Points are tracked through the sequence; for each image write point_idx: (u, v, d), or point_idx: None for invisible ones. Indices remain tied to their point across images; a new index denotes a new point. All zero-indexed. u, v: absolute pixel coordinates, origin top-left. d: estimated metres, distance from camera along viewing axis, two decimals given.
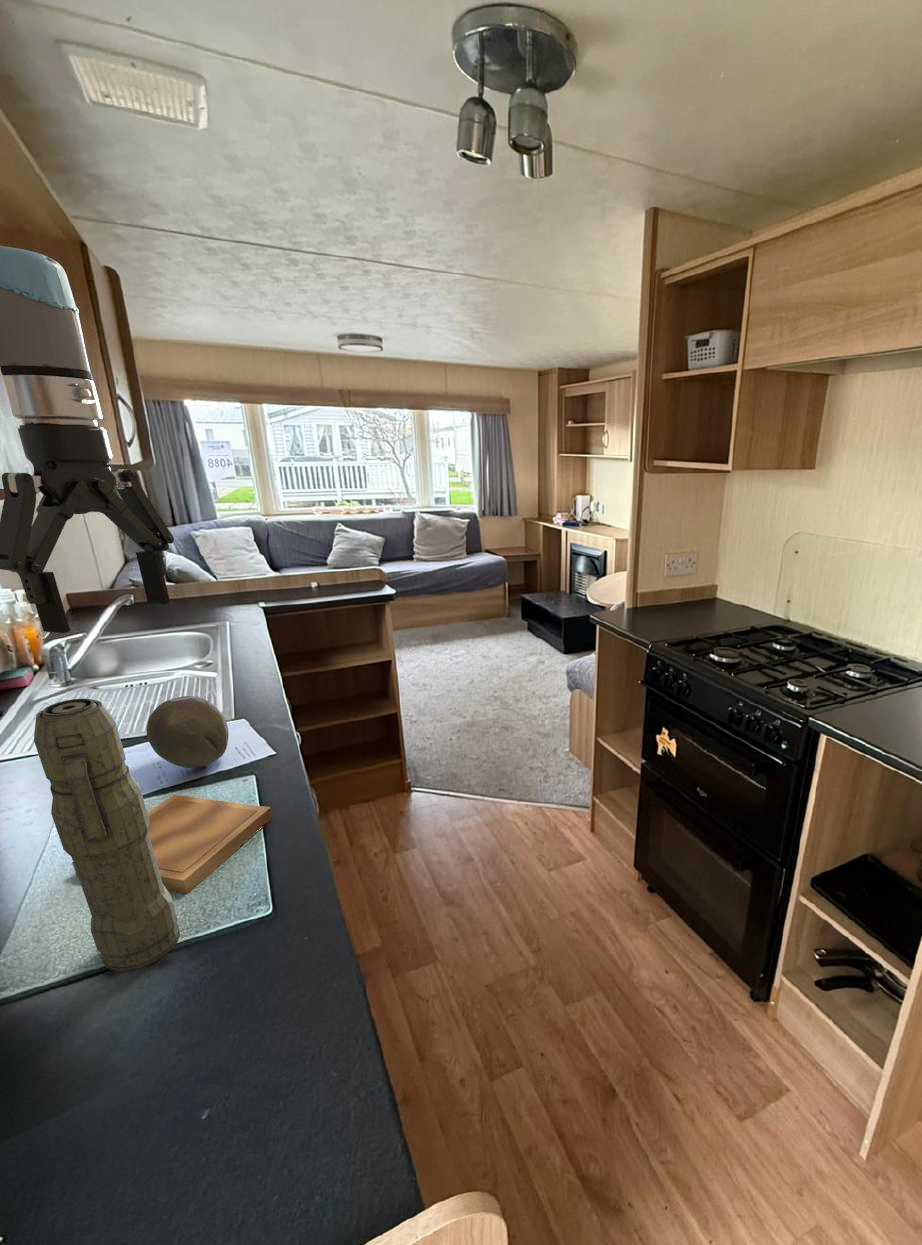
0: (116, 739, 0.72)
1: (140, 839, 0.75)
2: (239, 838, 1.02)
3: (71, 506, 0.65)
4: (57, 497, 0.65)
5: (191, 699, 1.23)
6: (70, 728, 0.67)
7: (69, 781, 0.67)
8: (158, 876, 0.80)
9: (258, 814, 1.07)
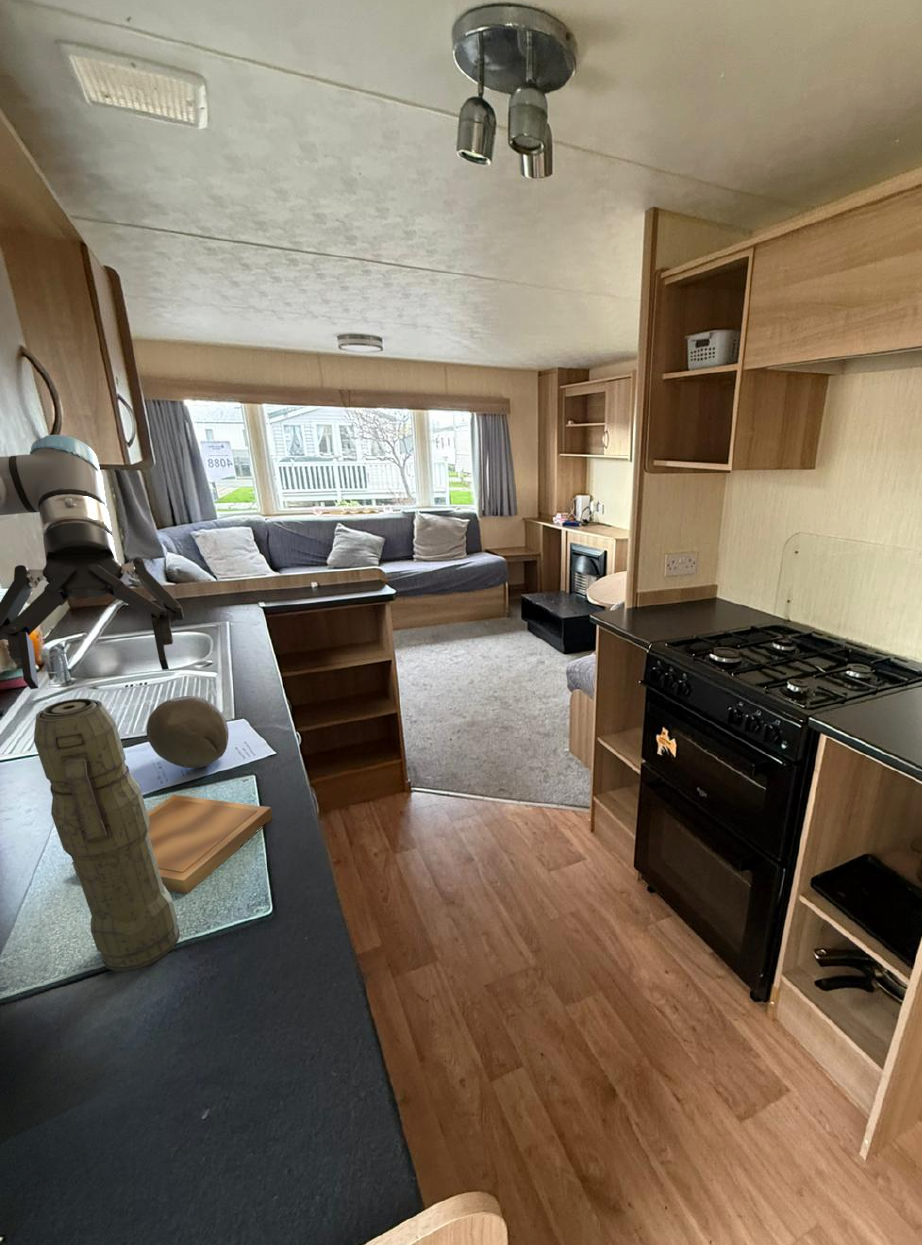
0: (116, 739, 0.72)
1: (140, 839, 0.75)
2: (239, 838, 1.02)
3: (56, 583, 0.78)
4: None
5: (191, 699, 1.23)
6: (70, 728, 0.67)
7: (69, 781, 0.67)
8: (158, 876, 0.80)
9: (258, 814, 1.07)
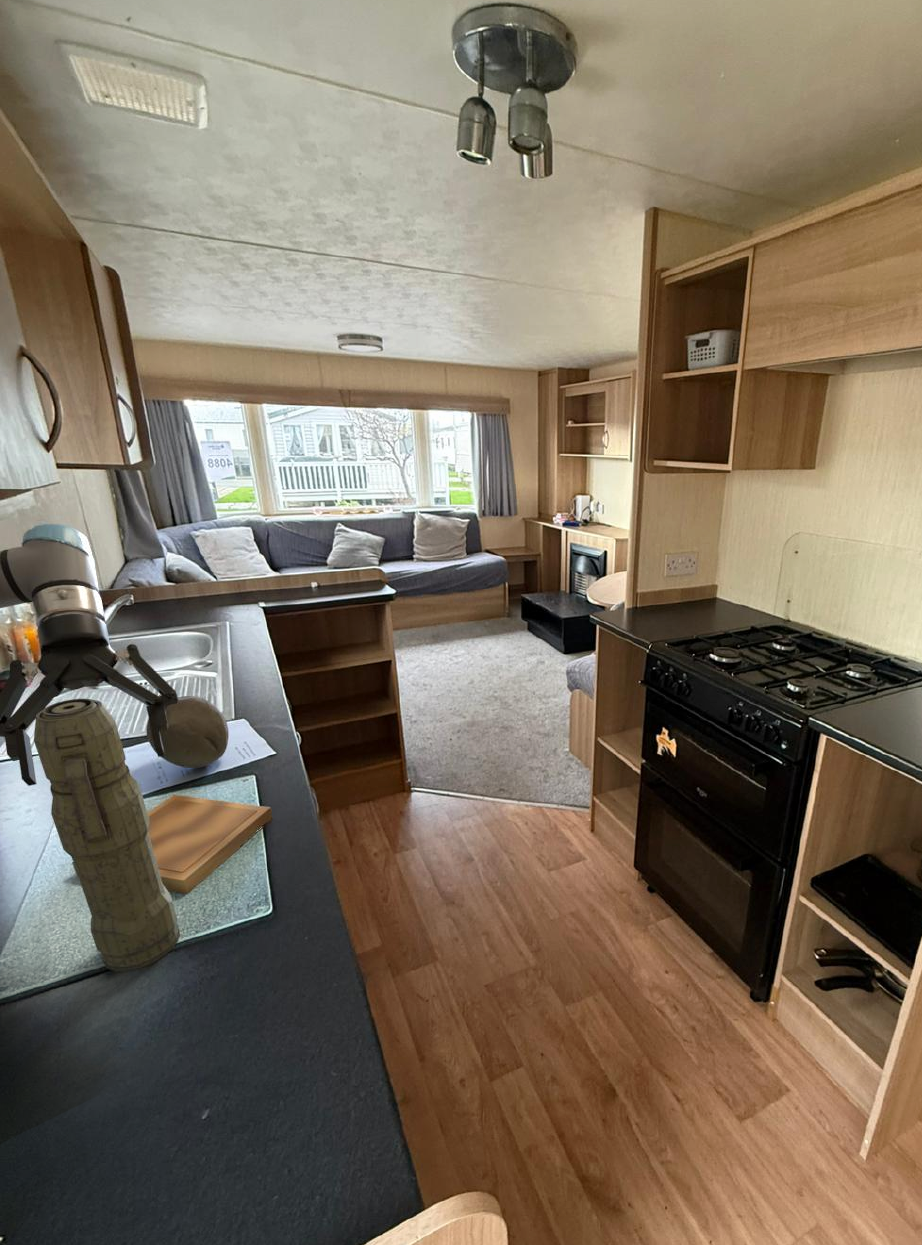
0: (116, 739, 0.72)
1: (140, 839, 0.75)
2: (239, 838, 1.02)
3: (51, 677, 0.79)
4: None
5: (191, 699, 1.23)
6: (70, 728, 0.67)
7: (69, 781, 0.67)
8: (158, 876, 0.80)
9: (258, 814, 1.07)
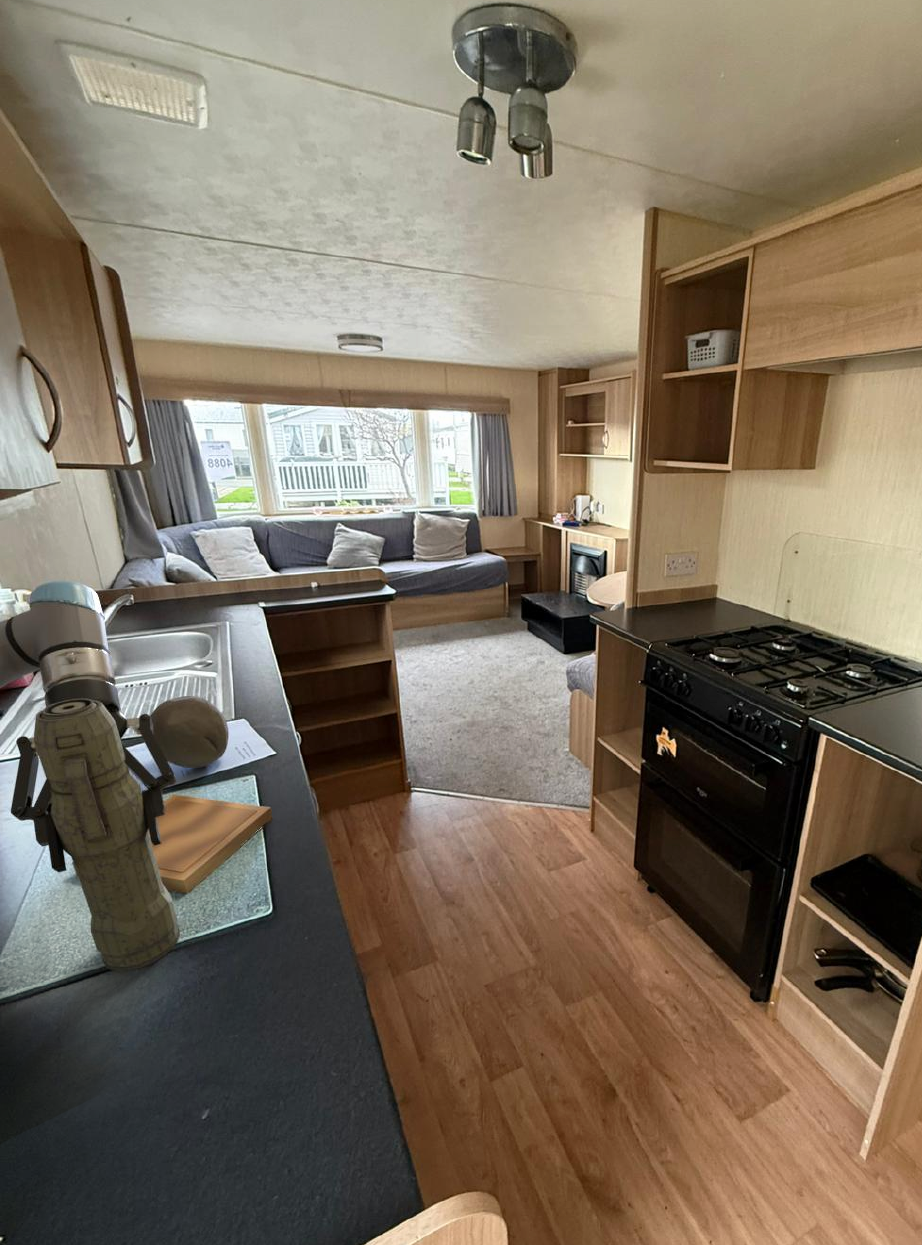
0: (116, 739, 0.72)
1: (140, 839, 0.75)
2: (239, 838, 1.02)
3: None
4: None
5: (191, 699, 1.23)
6: (70, 729, 0.67)
7: (69, 781, 0.67)
8: (158, 876, 0.80)
9: (258, 814, 1.07)
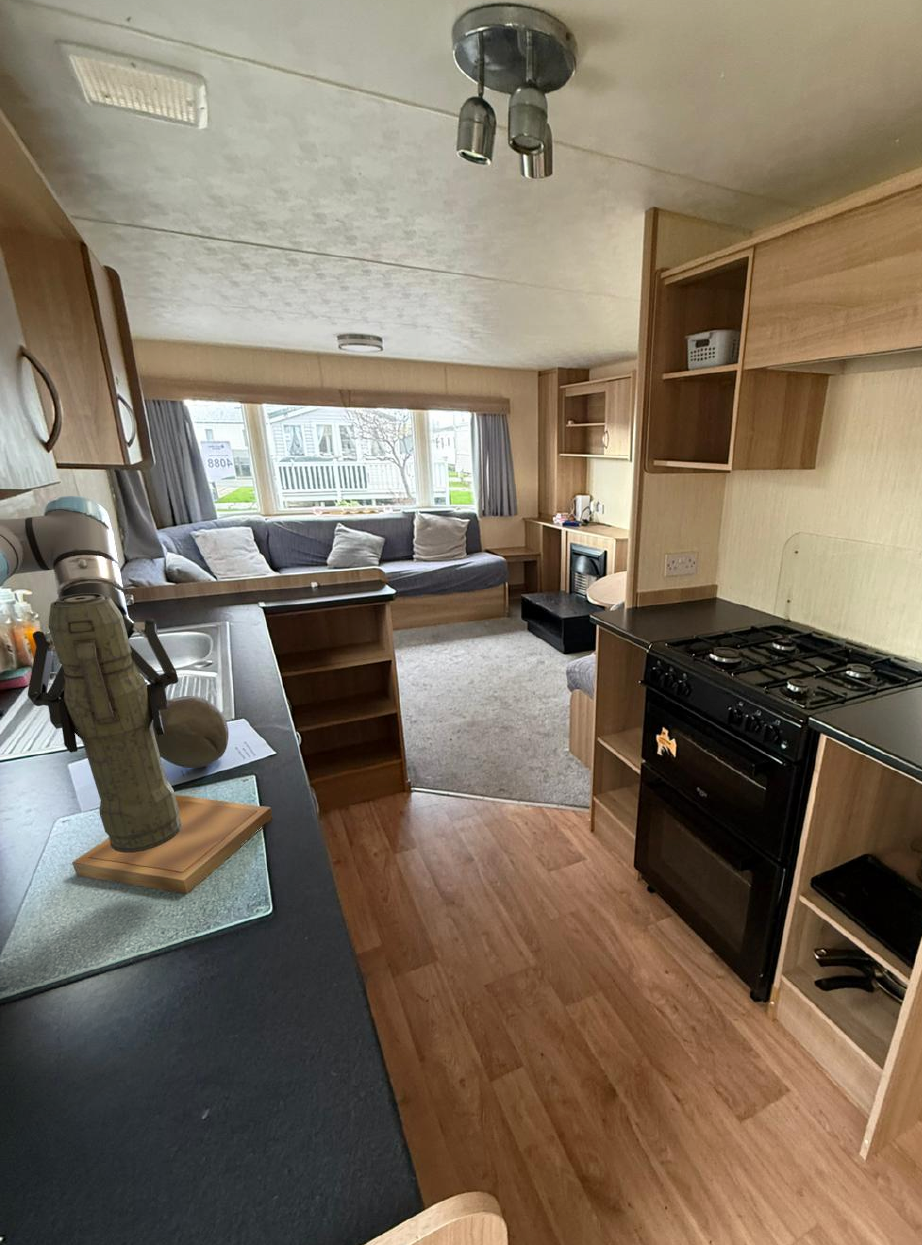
0: (123, 631, 0.78)
1: (145, 728, 0.82)
2: (239, 838, 1.02)
3: None
4: None
5: (191, 699, 1.23)
6: (81, 615, 0.74)
7: (80, 662, 0.73)
8: (161, 767, 0.86)
9: (258, 814, 1.07)
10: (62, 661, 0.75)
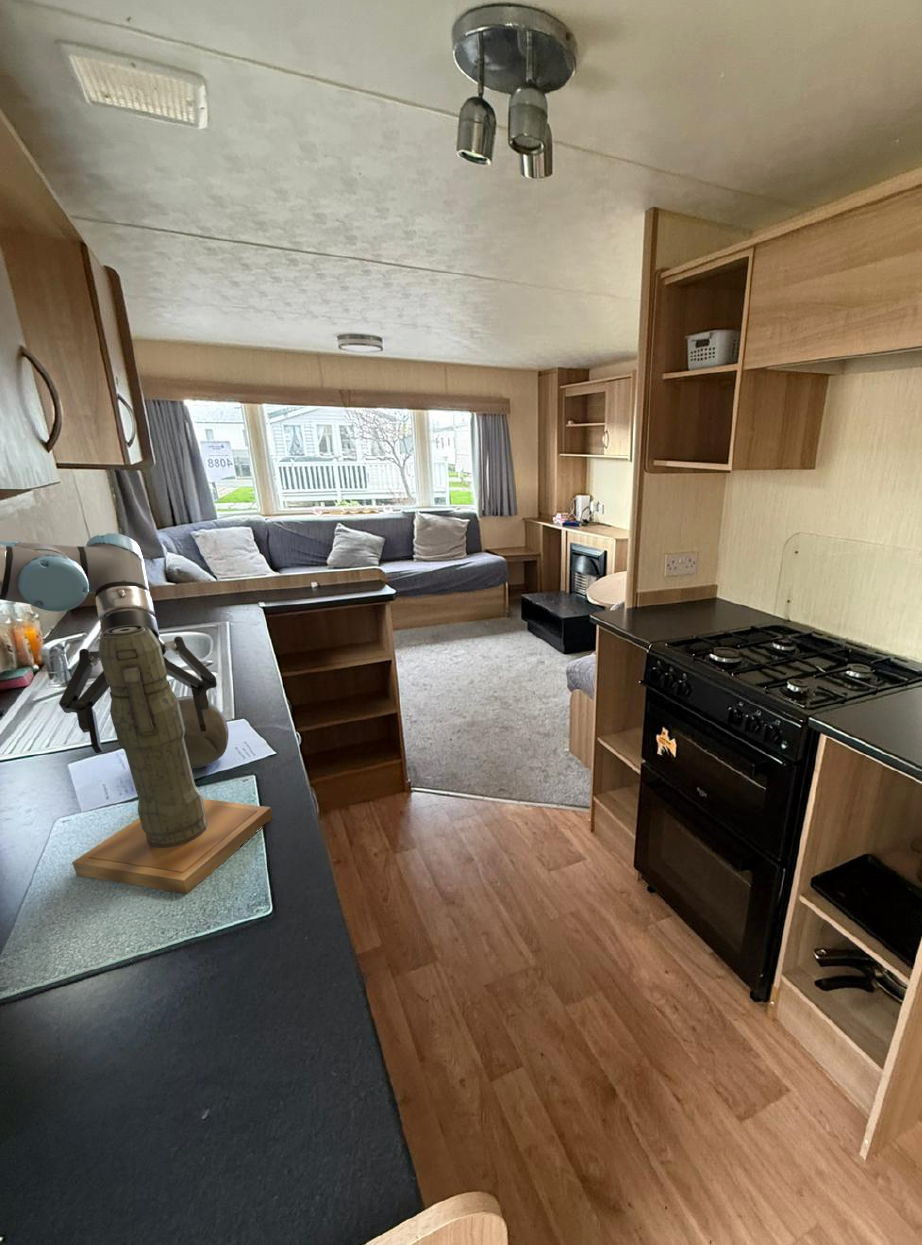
0: (161, 656, 0.92)
1: (178, 739, 0.95)
2: (239, 838, 1.02)
3: None
4: None
5: (191, 699, 1.23)
6: (127, 644, 0.87)
7: (127, 684, 0.86)
8: (191, 773, 0.99)
9: (258, 814, 1.07)
10: (110, 683, 0.88)
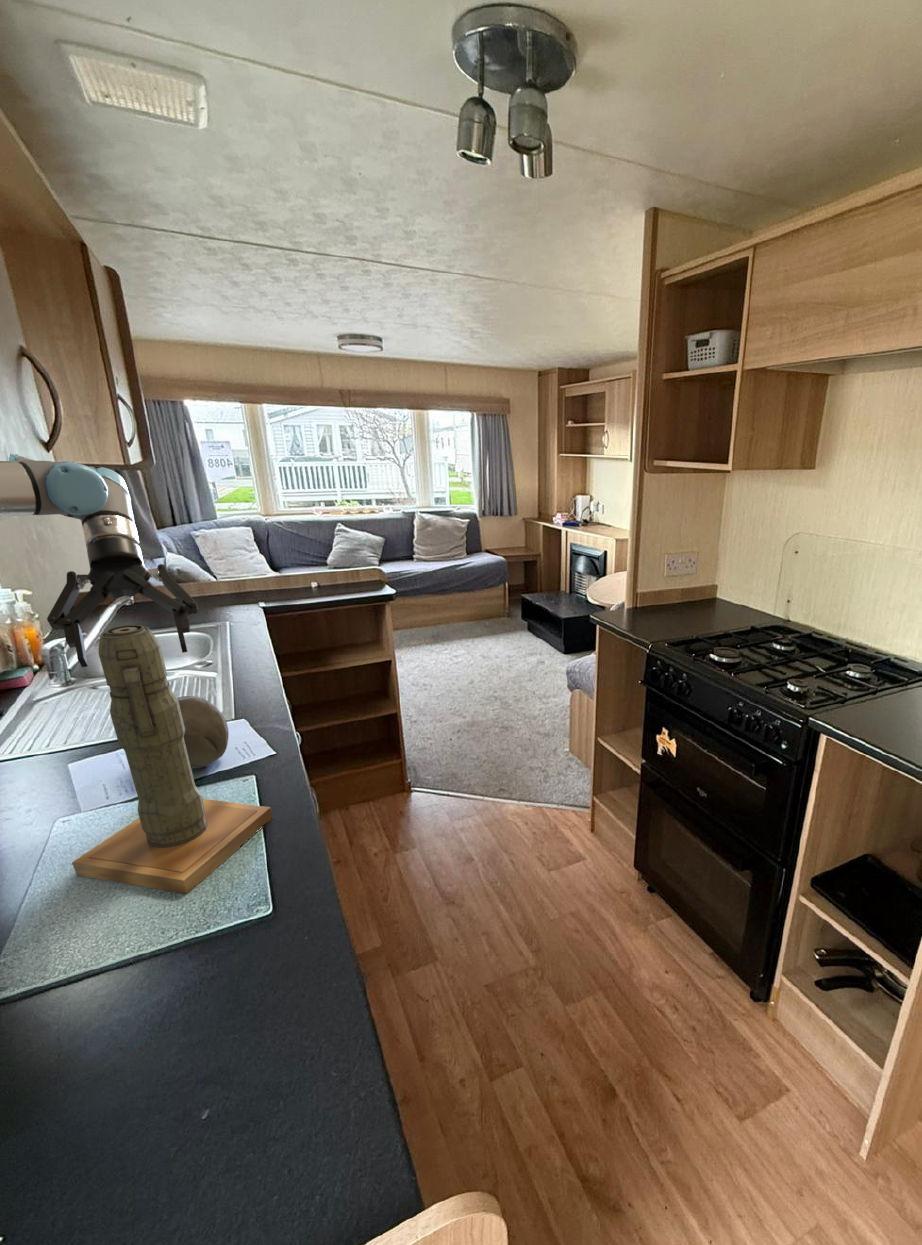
0: (160, 657, 0.91)
1: (178, 740, 0.95)
2: (239, 838, 1.02)
3: (99, 585, 1.00)
4: None
5: (191, 699, 1.23)
6: (127, 645, 0.87)
7: (127, 684, 0.86)
8: (191, 773, 0.99)
9: (258, 814, 1.07)
10: (110, 684, 0.88)
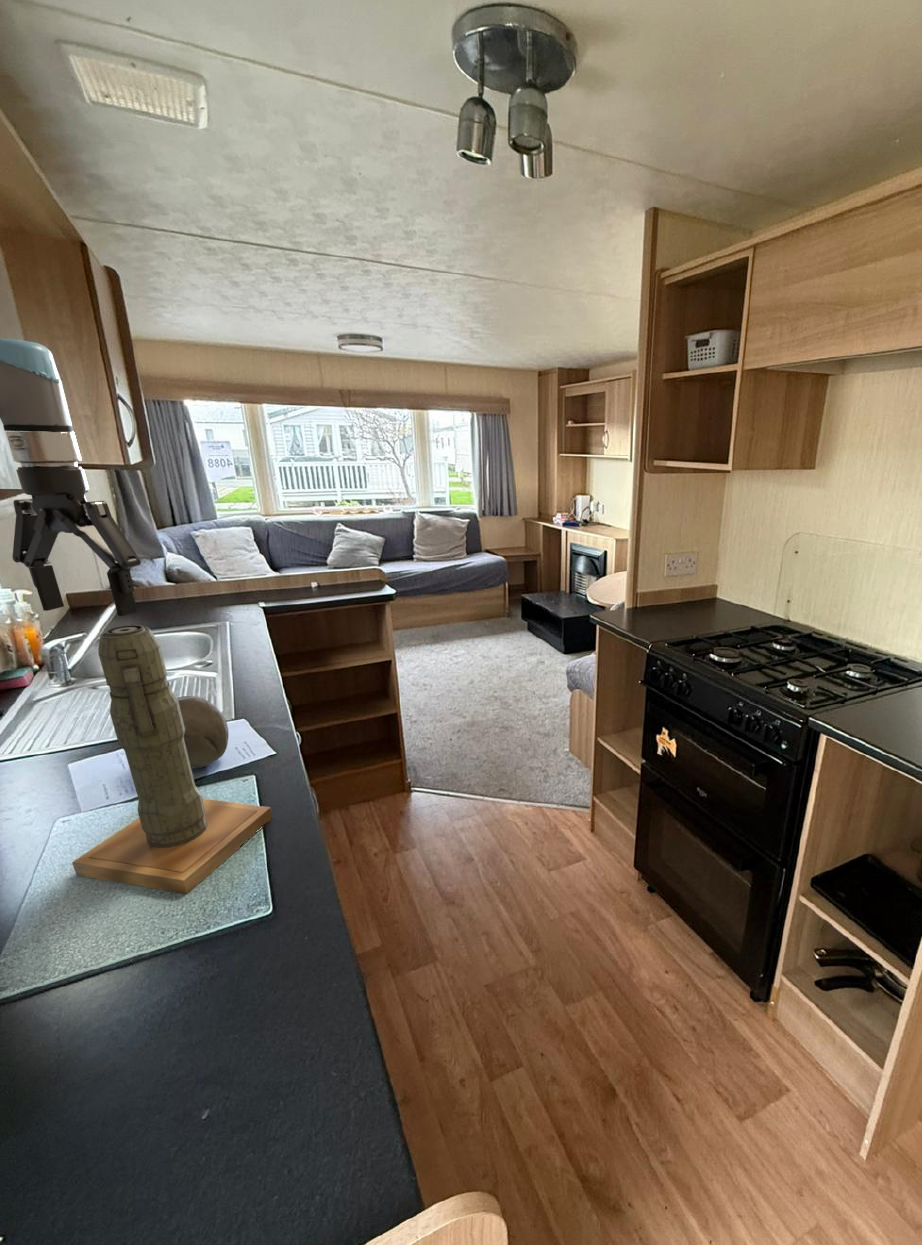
0: (160, 657, 0.91)
1: (178, 740, 0.95)
2: (239, 838, 1.02)
3: (39, 526, 0.88)
4: None
5: (191, 699, 1.23)
6: (127, 645, 0.87)
7: (127, 685, 0.86)
8: (191, 773, 0.99)
9: (258, 814, 1.07)
10: (110, 684, 0.88)
